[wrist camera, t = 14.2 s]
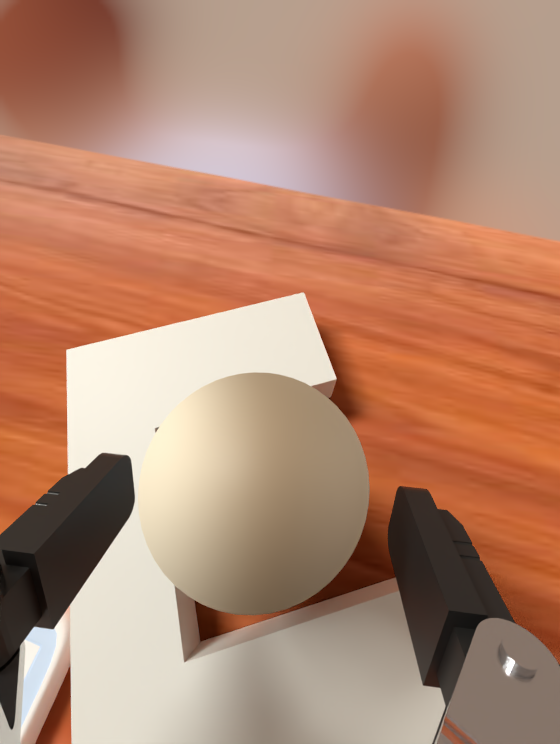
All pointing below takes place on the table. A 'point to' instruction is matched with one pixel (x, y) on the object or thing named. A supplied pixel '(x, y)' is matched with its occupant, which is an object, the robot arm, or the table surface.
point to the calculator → (43, 674)
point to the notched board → (178, 612)
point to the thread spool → (253, 493)
